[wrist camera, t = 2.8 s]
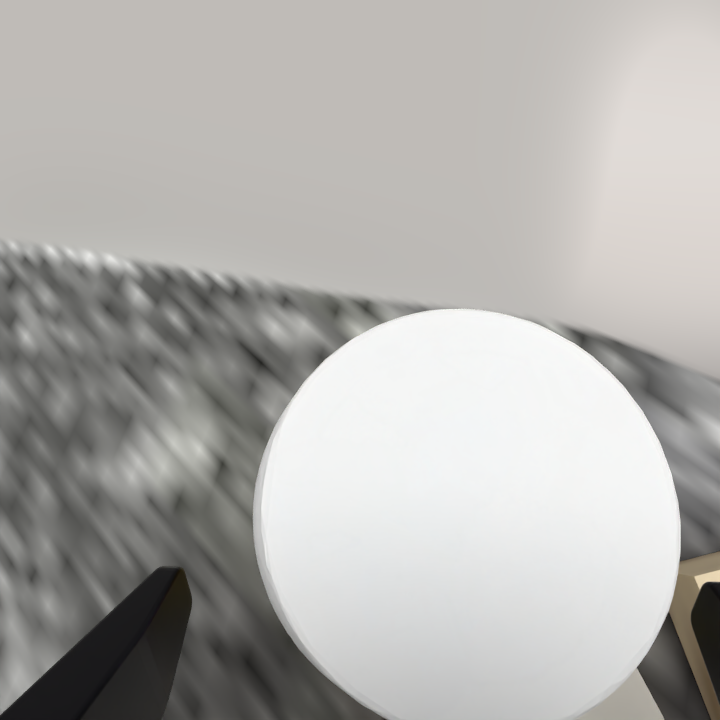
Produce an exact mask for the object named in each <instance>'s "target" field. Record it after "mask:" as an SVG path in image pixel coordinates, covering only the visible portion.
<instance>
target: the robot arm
mask: <svg viewBox="0 0 720 720" xmlns="http://www.w3.org/2000/svg"><path fill="white" fill-rule="evenodd" d="M191 607H192V596H191V592H190V588H189V585H188V581H187V578H186V574H185V571H184V569H183V568H182V567H178V566H162V567H159V568H158V569H156V570H155V571H154V572H153V573H152V574H151V575H150V576H149V577H147V578H146V579H145V580H144V581H143V582H142V583H141V584H140V585H139V586H138V587H137V588H136V589H135V590H134V591H133V592H131V593H130V594H129V595H128V596H127V597H126V598H125V599H124V600H123V601H122V602H121V603H120V604H119V605H118V606H116V607H115V608H114V609H113V610H112V611H111V612H110V613H109V614H108V615H107V616H106V617H105V618H104V619H103V620H102V621H100V622H99V623H98V624H97V625H96V626H95V627H94V628H93V629H92V630H91V631H90V632H89V633H88V634H87V635H86V636H84V637H83V638H82V639H81V640H80V641H79V642H78V643H77V644H76V645H75V646H74V647H73V648H72V649H71V650H70V651H68V652H67V653H66V654H65V655H64V656H63V657H62V658H61V659H60V660H59V661H58V662H57V663H56V664H55V665H54V666H52V667H51V668H50V669H49V670H48V671H47V672H46V673H45V674H44V675H43V676H42V677H41V678H40V679H39V680H38V681H36V682H35V683H34V684H33V685H32V686H31V687H30V688H29V689H28V690H27V691H26V692H25V693H24V694H23V695H22V696H20V697H19V698H18V699H17V700H16V701H15V702H14V703H13V704H12V705H11V706H10V707H9V708H8V709H7V710H5V711H4V712H3V713H2V714H1V715H0V720H162V717H163V714H164V711H165V708H166V705H167V702H168V699H169V696H170V692H171V688H172V684H173V680H174V676H175V672H176V668H177V664H178V660H179V656H180V652H181V648H182V644H183V640H184V636H185V632H186V628H187V624H188V620H189V616H190V612H191ZM691 625H692V628H693V631H694V634H695V637H696V640H697V643H698V646H699V649H700V651H701V654H702V657H703V660H704V663H705V666H706V668H707V671H708V674H709V677H710V680H711V683H712V686H713V688H714V691H715V694H716V697H717V700H718V703H719V705H720V582H706V583H704V584H703V585H702V586H701V589H700V591H699V594H698V596H697V599H696V601H695V603H694V606H693V608H692V611H691Z"/></svg>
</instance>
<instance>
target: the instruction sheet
mask: <svg viewBox="0 0 720 720" xmlns="http://www.w3.org/2000/svg"><path fill="white" fill-rule="evenodd" d="M387 720H388V719H387ZM575 720H665V719H664V717H663V716H662V714H661V712H660V710H659V708H658V706H657V704H656V703H655V701H654V699H653V697H652V695H651V693H650V691H649V690H648V688H647V686H646V684H645V682H644V680H643V678H642V676H641V675H640V673H639V671H638V669H637V668H636V669H635V670H634V672H633V673H632V674H631V675H630V677H629V678H628V679H627V680H626V681H625V682H624V683H623V684H622V685H621V686H620V687H619V688H618V689H617V690H616V691H614V692H613V693H612V694H611V695H610V696H608V697H607V698H606V699H605V700H604V701H603V702H602V703H601V704H600V705H598V706H596V707H595V708H593V709H592V710H590V711H589V712H587V713H585V714H584V715H582V716H581V717H579V718H577V719H575Z"/></svg>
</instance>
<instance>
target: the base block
mask: <svg viewBox="0 0 720 720" xmlns="http://www.w3.org/2000/svg"><path fill="white" fill-rule="evenodd" d="M706 582H720V551H719V552H715V553H711V554H707V555H703V556H700V557H696V558H692V559H688V560H684V561H680V562H679V568H678V576H677V580H676V585H675V590H674V595H673V599H672V602H671V605H670V609H669V613H670V616H671V618H672V621H673V623H674V626H675V628H676V631H677V634H678V636H679V639H680V641H681V644H682V646H683V649H684V651H685V654H686V657H687V659H688V662H689V664H690V667H691V669H692V672H693V674H694V677H695V680H696V682H697V685H698V687H699V690H700V692H701V695H702V697H703V700H704V703H705V705H706V708H707V710H708V713H709V715H710V718H711V720H720V705H719V703H718V700H717V697H716V694H715V691H714V688H713V686H712V683H711V680H710V677H709V674H708V671H707V668H706V666H705V663H704V660H703V657H702V654H701V651H700V649H699V646H698V643H697V640H696V637H695V634H694V631H693V628H692V625H691V611H692V608H693V606H694V603H695V601H696V599H697V596H698V594H699V591H700V589H701V586H702V585H703V584H704V583H706Z"/></svg>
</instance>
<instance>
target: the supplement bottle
mask: <svg viewBox="0 0 720 720" xmlns="http://www.w3.org/2000/svg"><path fill="white" fill-rule="evenodd" d="M253 533H254V544H255V551H256V557H257V562H258V566H259V570H260V574H261V577H262V580H263V583H264V586H265V589H266V592H267V595H268V598H269V600H270V602H271V604H272V606H273V608H274V611H275V613H276V614H277V616H278V618H279V620H280V621H281V623H282V625H283V627H284V628H285V630H286V632H287V633H288V635H289V636H290V637H291V638H292V640H293V642H294V643H295V645H296V646H297V647H298V649H299V650H300V651H301V652H302V653H303V654H304V655H305V657H306V658H307V659H308V660H309V661H310V662H311V663H312V664H313V665H314V666H315V667H316V668H317V669H318V670H319V671H320V672H321V673H322V674H323V675H324V676H326V677H327V678H328V679H329V680H330V681H332V682H333V683H334V684H335V685H336V686H338V687H339V688H340V689H342V690H343V691H344V692H346V693H347V694H348V695H349V696H351V697H352V698H353V699H355V700H356V701H357V702H359V703H360V704H361V705H363V706H365V707H366V708H368V709H370V710H372V711H373V712H375V713H376V714H378V715H380V716H381V717H383V718H385V719H388V720H575V719H577V718H579V717H581V716H582V715H584V714H585V713H587V712H589V711H590V710H592V709H593V708H595V707H596V706H598V705H600V704H601V703H602V702H603V701H604V700H605V699H606V698H607V697H608V696H610V695H611V694H612V693H613V692H614V691H616V690H617V689H618V688H619V687H620V686H621V685H622V684H623V683H624V682H625V681H626V680H627V679H628V678H629V677H630V675H631V674H632V673H633V672H634V670H635V669H636V668H637V666H638V665H639V664H640V662H641V661H642V660H643V658H644V657H645V656H646V654H647V653H648V651H649V649H650V647H651V646H652V644H653V642H654V641H655V639H656V637H657V635H658V633H659V631H660V628H661V626H662V624H663V622H664V620H665V618H666V616H667V614H668V612H669V609H670V605H671V602H672V599H673V595H674V590H675V585H676V580H677V576H678V568H679V560H680V537H681V523H680V514H679V506H678V500H677V495H676V491H675V487H674V483H673V479H672V474H671V471H670V469H669V466H668V463H667V460H666V458H665V455H664V452H663V450H662V447H661V444H660V442H659V440H658V438H657V436H656V435H655V433H654V431H653V429H652V427H651V425H650V424H649V422H648V420H647V418H646V417H645V415H644V413H643V411H642V410H641V408H640V407H639V406H638V405H637V403H636V402H635V401H634V399H633V398H632V397H631V396H630V394H629V393H628V391H627V390H626V389H625V387H624V386H623V385H622V384H621V383H620V382H619V381H618V380H617V379H616V378H615V377H614V376H613V375H612V374H611V372H609V371H608V370H607V369H606V368H605V367H604V366H603V365H602V364H600V363H599V362H598V361H597V360H596V359H595V358H594V357H593V356H591V355H590V354H589V353H587V352H586V351H584V350H583V349H582V348H580V347H579V346H577V345H576V344H574V343H573V342H571V341H569V340H567V339H565V338H563V337H561V336H559V335H558V334H556V333H554V332H552V331H550V330H549V329H547V328H545V327H542V326H540V325H538V324H535V323H533V322H531V321H527V320H523V319H520V318H516V317H513V316H509V315H505V314H502V313H496V312H491V311H485V310H474V309H442V310H430V311H424V312H419V313H414V314H410V315H406V316H403V317H399V318H396V319H393V320H390V321H388V322H385V323H383V324H380V325H377V326H375V327H373V328H372V329H370V330H368V331H366V332H364V333H362V334H361V335H359V336H357V337H355V338H354V339H352V340H351V341H349V342H347V343H346V344H344V345H343V346H342V347H340V348H339V349H338V350H337V351H335V352H334V353H333V354H331V355H330V356H329V357H328V358H326V359H325V360H324V361H323V362H322V363H321V364H320V365H319V367H318V368H317V369H316V370H315V371H314V372H313V373H312V374H311V375H310V376H309V377H308V378H307V379H306V380H305V381H304V383H303V384H302V386H301V387H300V389H299V390H298V391H297V393H296V394H295V396H294V397H293V399H292V400H291V401H290V403H289V404H288V406H287V407H286V409H285V410H284V412H283V413H282V415H281V416H280V418H279V420H278V422H277V424H276V425H275V427H274V430H273V432H272V434H271V437H270V439H269V441H268V444H267V446H266V449H265V451H264V454H263V457H262V460H261V463H260V467H259V472H258V476H257V480H256V485H255V494H254V502H253Z"/></svg>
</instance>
